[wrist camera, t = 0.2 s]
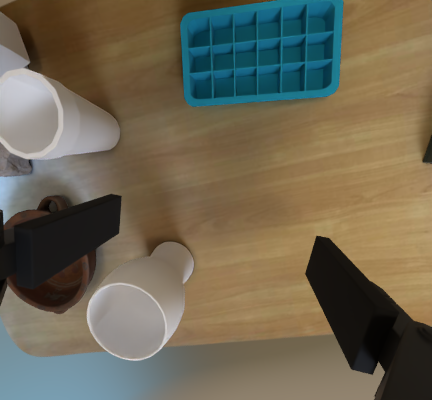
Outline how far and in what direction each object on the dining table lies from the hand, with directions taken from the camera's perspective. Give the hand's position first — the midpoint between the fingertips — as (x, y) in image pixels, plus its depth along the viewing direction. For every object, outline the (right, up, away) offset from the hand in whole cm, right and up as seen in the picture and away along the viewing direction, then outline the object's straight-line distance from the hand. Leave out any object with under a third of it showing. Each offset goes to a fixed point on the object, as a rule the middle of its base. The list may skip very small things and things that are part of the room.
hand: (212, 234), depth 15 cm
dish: (-28, -7, +27) cm, 40 cm away
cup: (-7, -9, +24) cm, 27 cm away
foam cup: (-19, +14, +22) cm, 32 cm away
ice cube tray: (+6, +22, +17) cm, 28 cm away
